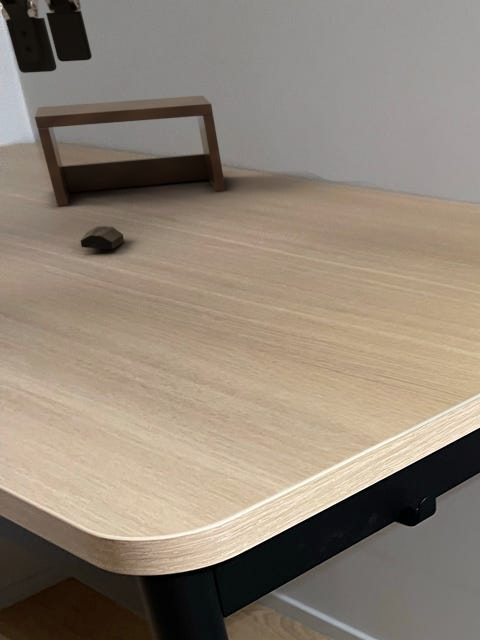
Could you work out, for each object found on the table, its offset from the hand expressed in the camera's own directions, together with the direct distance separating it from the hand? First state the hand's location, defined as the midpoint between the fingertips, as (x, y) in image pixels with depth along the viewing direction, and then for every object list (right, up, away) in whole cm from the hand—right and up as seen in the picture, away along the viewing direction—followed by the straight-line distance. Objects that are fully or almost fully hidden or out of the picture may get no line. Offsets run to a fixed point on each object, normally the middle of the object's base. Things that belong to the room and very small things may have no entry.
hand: (58, 65), depth 92 cm
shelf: (-3, +3, +33) cm, 33 cm away
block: (+1, -14, +8) cm, 16 cm away
